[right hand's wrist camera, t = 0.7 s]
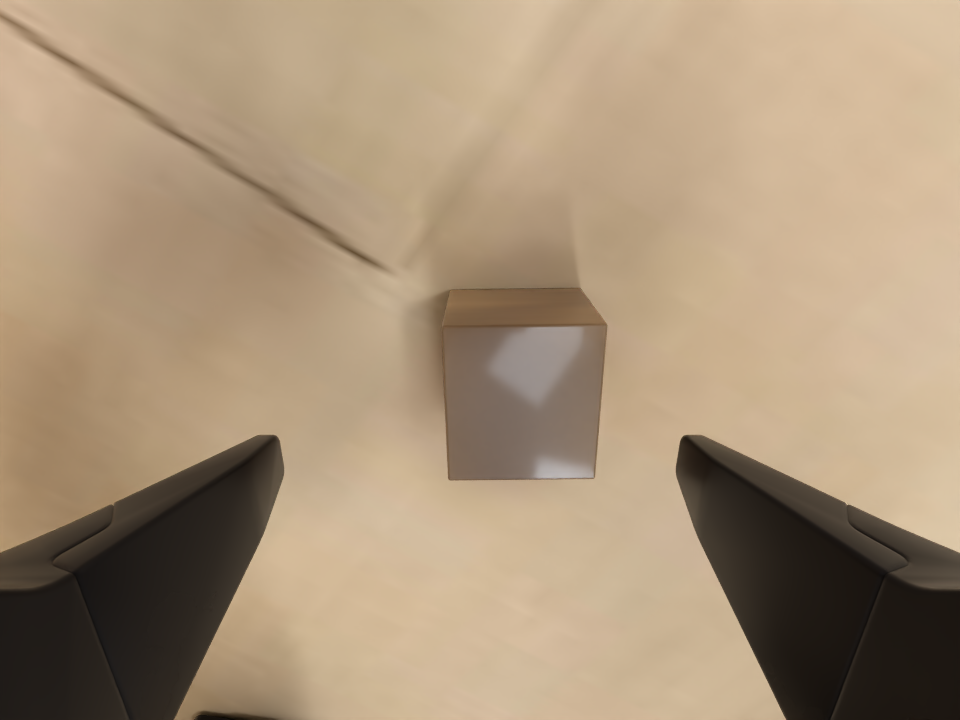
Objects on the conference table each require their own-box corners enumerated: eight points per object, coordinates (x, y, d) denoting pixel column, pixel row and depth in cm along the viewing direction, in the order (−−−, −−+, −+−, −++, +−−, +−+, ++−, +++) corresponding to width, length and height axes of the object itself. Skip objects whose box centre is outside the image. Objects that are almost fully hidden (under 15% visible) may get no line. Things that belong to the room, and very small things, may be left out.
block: (581, 287, 18) (608, 323, 14) (573, 417, 19) (595, 479, 16) (449, 289, 18) (441, 326, 14) (454, 418, 20) (447, 481, 16)
